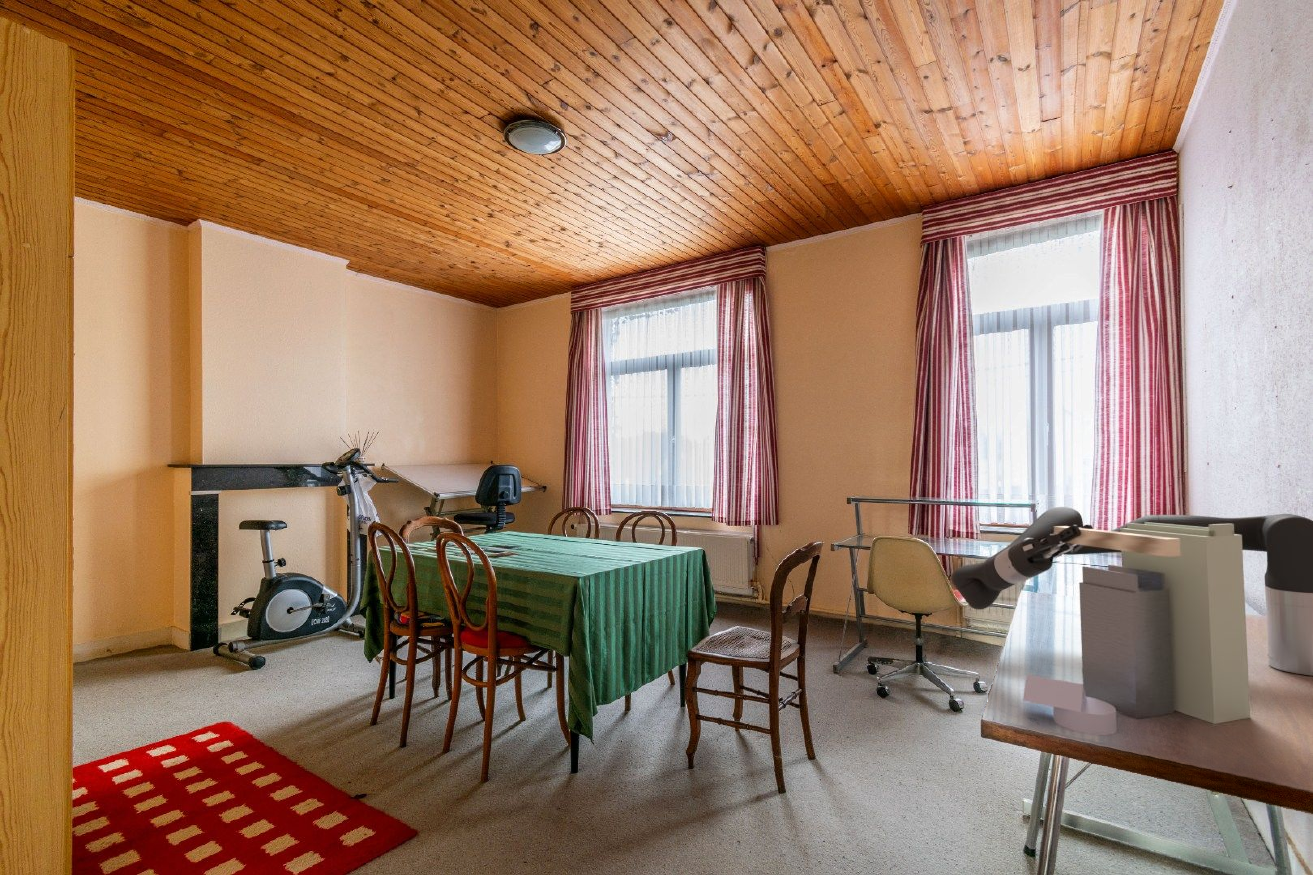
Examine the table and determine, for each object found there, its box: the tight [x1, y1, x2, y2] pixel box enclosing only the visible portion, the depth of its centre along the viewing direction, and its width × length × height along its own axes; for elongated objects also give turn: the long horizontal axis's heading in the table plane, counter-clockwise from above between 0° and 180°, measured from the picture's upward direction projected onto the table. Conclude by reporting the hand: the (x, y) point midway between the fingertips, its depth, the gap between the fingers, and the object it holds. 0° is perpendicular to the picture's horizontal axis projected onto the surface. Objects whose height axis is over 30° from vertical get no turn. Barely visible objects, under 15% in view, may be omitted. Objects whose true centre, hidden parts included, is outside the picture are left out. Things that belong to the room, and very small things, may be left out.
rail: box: [1054, 526, 1181, 557], centre depth 119 cm, size 22×3×3 cm, turn 16°
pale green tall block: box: [1120, 522, 1251, 725], centre depth 117 cm, size 15×9×34 cm, turn 17°
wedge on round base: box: [1022, 674, 1118, 736], centre depth 110 cm, size 9×7×13 cm
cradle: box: [1078, 564, 1175, 720], centre depth 117 cm, size 10×9×25 cm
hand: (1084, 529), depth 124 cm, fingers closed on rail, 3 cm apart
